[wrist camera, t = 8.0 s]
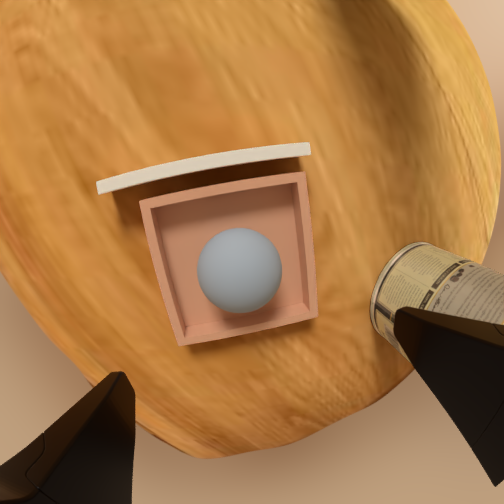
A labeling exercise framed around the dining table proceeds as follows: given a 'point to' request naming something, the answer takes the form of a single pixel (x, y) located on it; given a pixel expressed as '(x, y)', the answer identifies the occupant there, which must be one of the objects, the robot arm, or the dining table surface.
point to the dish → (220, 219)
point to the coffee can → (435, 288)
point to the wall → (202, 165)
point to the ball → (239, 270)
